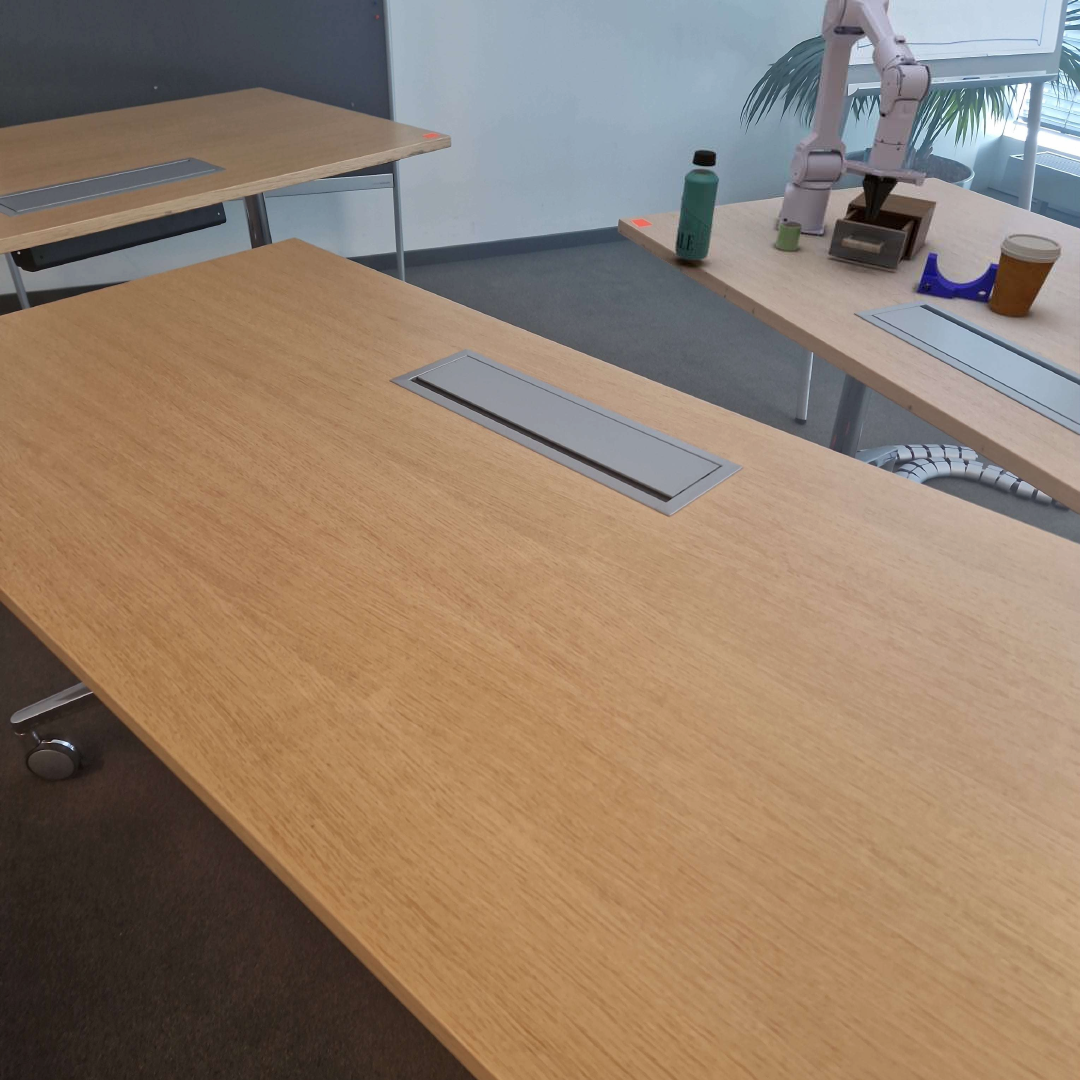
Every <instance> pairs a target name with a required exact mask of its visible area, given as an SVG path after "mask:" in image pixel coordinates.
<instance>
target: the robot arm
mask: <svg viewBox="0 0 1080 1080" xmlns="http://www.w3.org/2000/svg"><path fill="white" fill-rule="evenodd" d="M889 4H890V0H826V2H825V5H824V12H823V18H822V23H821V34H820V36H821V38H823V39H824V40H825V45H824V49H823V50H824V51H823V57H822V64H821V69H820V76H819V83H818V89H817V95H816V102H815V110H814V116H813V122H812V128H811V133H810V134H808V135H807V136H805V137H804V138H803V139H801V140H800V141H799V142H798V143H796V146H795V150H794V151H795V152H794V154H793V157H792V159H791V162H790V172H789V173H790V177H791V180H792V181H793V182H786V186H785V191H784V195H783V201H782V205H781V209H779V212H778V225H777V229H778V230H779V226H780V223H781V222H784V221H792V222H797V223H800V224H801V225H802V230H801V233H804V234H811V235H819V236H823V235H824V232H825V226H826V225H825V224H826V223H825V218H826V213H827V209H828V204H829V200H830V197H831V196H830V195H831V192H832V189H833V188H835V187H836V184H838V183H839V182H840V181H842V178H843V177H844V175H845V174H853V175H858V176H864V178H863V180H861V181H862V182H861V184H862V185H861V186H862V189H863V192H864V194H865V201H866V216H865V220H870V221H874V220H875V219H876V218H877V215H878V213H879V210H880V208H881V207H882V205H883V203H884V201H885V200H886V198H887V197H888V195H889V194H891V192H892V191H893V190H894V189H895V187H896V186H897V184H898V183H903V184H909V185H914V186H916V187H922V186H923V185H924V183H925V180H926V176H927V173H926V172H923V171H922V172H921V171H917V170H914V169H909V168H906V167H903V166H902V165H903V162H904V157H905V153H906V152H907V151H906V150H907V147H908V143H909V140H910V137H911V132H912V128H913V124H914V122H915V117H916V114H917V110H918V107H919V103H922V102H924V100H926V98H927V96H928V95H929V92H930V90H931V86H932V78H933V77H932V72H931V68H930V65H928V64H927V63H921V62H917V60H916V58H915V57H914V54H913V52H912V51H911V49H910V47H909V45H908V43H907V41H906V37H905V36H904V35H900V34H895V33H894V30H893V27H892V25H891V22H890V19H889V16H888V11H889V6H890V5H889ZM866 37H867V39H868V40H869V42H870V43H871V45H872V46H873V51H872V54H871V55H872V56H871V59H872V62H873V64H874V66H875V68H876V70H877V72H878V74H879V76H880V78H881V81H880V88H879V89H880V90H879V91H880V92H879V93H880V100H879V106H878V107H879V109H878V110H879V112H880V115H879V118H878V122H877V126H876V130H875V135H874V139H873V143H872V147H871V151H870V155H869V158H868V161H859V160H852V159H851V160H850V159H846V153H847V152H846V151H847V145H846V143H845V142H844V141H843V140H842V139H841V138H840V137H839V135H838V132H839V126H840V121H841V120H840V119H841V114H842V108H843V102H844V96H845V89H846V84H847V79H848V72H849V66H850V60H851V55H852V48H853V47H854V45H855V44H856V43H858V41H859V40H862V39H865V38H866ZM818 150H819V151H818ZM822 150H823V151H822ZM825 150H826V151H825ZM827 150H828V151H827Z"/></svg>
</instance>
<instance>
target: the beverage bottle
mask: <svg viewBox="0 0 1080 1080" xmlns="http://www.w3.org/2000/svg"><path fill="white" fill-rule="evenodd" d="M692 164H693V165H695V166H698V167H703V168H694V169H691V170H690V171H689V172H687V173H686V174H685V175H684V182H683V183H684V184H683V190H682V195H681V197H680V203H681V204H680V211H679V218H678V227H677V230H676V233H677V234H676V238H675V246H674V247H675V255H676V256H678V257H680V258H682V259H685V260H693V261H695V260H696V261H697V260H703V259H704V260H705V259H706V258H707V257H708V255H709V251H710V245H711V236H712V229H713V222H714V213H715V205H716V199H717V193H718V187H719V182H720V178H719V176H718V175H717V174H716V172H715V171H714V170H711V169H707V168H709V167H711V168H712V167H715V166H716V164H717V152H715V151H713V150H706V149H699V150H695V151H694V154H693V159H692ZM704 167H705V168H704Z"/></svg>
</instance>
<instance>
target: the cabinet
mask: <svg viewBox="0 0 1080 1080" xmlns="http://www.w3.org/2000/svg"><path fill="white" fill-rule="evenodd" d="M936 207H937V201H932V200H927V199H922V198H921V199H920V198H917V197H916V198H915V197H910V196H906V195H901V194H900V195H899V194H895V193H890V194H889V195H888V197H887V198H886V200H885V201H884V203H883V205H882V207H881V208H880V210H879V213H883V214H888V215H893V216H898V217H904V218H909V219H914V220H917V222H916V225H915V228H914V232H913V235H912V239H911V242H910V246H909V249H908V251H907V252H906V253H905V254H904V255H903V256H902V258H901V259H902V260H907V261H911V260H912V258H913V257H914V256H915V255H916V254H917V253H918V251H920V249H921V248H922V247H923V245H924V244H925V242H926V239H927V236H928V232H929V230H930V226H931V222H932V220H933V216H934V212H935V209H936ZM855 208H856V209H862V210H866V201H865V194H864V191H862V192H861V193H860V194H859V195H857V196H856V197H855V198H853V199H852V200H851V201H850V202H848V204H847V210H846V213H845V216H847V215H848V214H849V213H850V212H851V211H853V210H854V209H855Z"/></svg>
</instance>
